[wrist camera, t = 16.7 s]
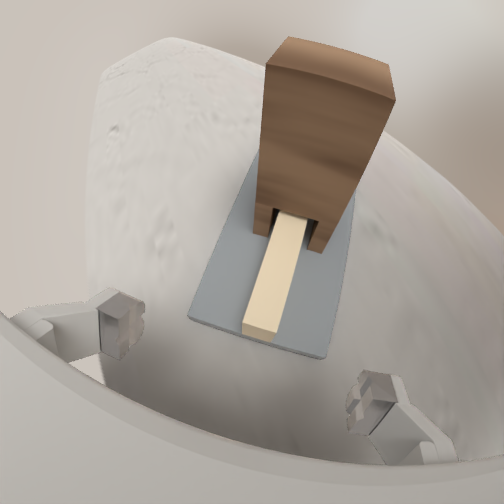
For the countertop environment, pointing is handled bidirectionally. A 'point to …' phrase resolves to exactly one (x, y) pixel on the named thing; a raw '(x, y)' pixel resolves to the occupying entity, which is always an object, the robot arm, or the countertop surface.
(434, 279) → the countertop surface
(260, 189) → the walnut block
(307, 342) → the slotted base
